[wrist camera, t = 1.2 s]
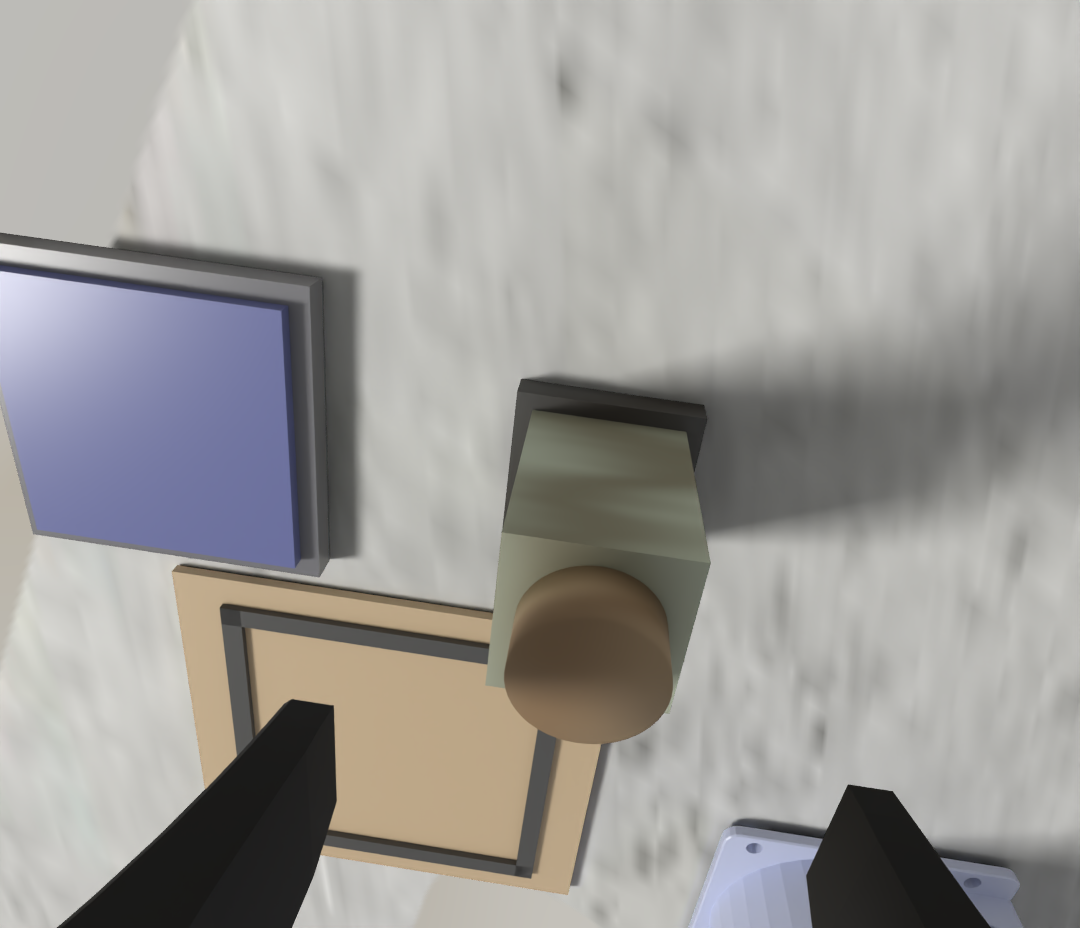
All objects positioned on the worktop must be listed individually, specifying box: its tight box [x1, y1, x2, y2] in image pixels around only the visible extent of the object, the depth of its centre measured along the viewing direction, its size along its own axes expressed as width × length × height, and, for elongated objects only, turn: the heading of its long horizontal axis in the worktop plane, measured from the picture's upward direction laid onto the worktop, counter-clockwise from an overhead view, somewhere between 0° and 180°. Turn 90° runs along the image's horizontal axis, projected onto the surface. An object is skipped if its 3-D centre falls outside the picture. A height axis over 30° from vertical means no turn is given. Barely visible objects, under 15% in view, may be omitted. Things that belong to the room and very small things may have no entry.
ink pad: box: [0, 233, 330, 577], centre depth 19 cm, size 8×8×1 cm
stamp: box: [485, 379, 711, 744], centre depth 16 cm, size 4×4×7 cm
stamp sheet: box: [172, 565, 601, 895], centre depth 24 cm, size 13×12×1 cm
